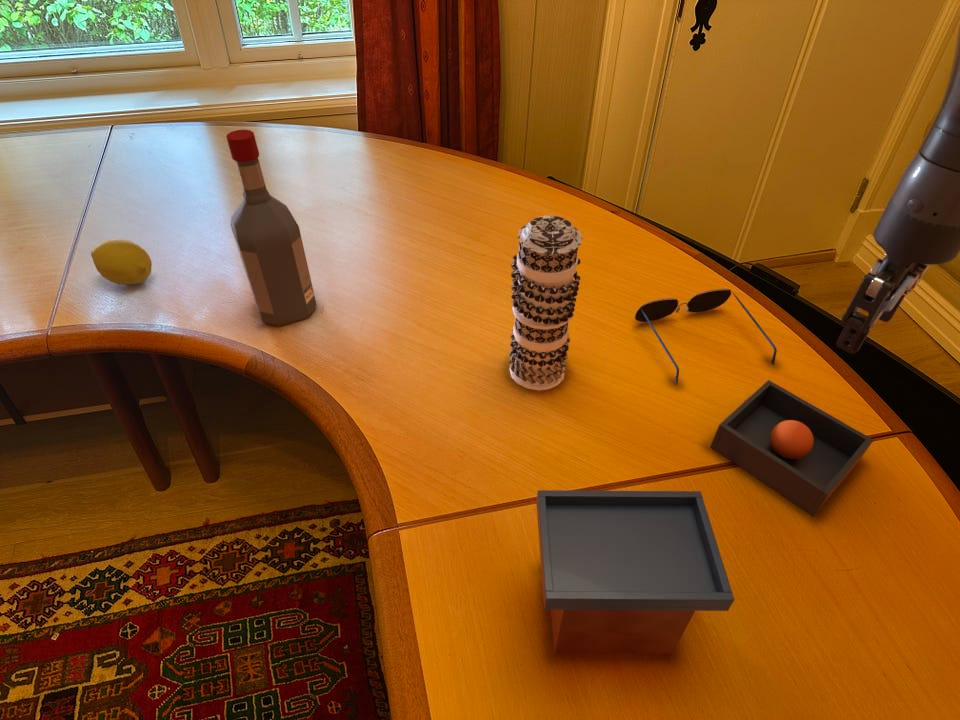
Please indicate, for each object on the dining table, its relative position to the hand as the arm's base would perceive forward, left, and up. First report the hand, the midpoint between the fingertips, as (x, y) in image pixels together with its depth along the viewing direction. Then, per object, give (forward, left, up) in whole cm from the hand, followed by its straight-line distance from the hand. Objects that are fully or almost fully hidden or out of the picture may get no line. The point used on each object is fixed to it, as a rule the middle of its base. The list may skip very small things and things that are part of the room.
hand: (863, 332), depth 69 cm
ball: (+1, +4, -16) cm, 17 cm away
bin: (+1, +4, -19) cm, 20 cm away
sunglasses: (+21, -7, -20) cm, 29 cm away
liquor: (+73, +38, -20) cm, 84 cm away
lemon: (+99, +55, -20) cm, 114 cm away
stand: (+3, +38, -19) cm, 43 cm away
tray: (+3, +38, -7) cm, 39 cm away
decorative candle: (+34, +17, -20) cm, 42 cm away
